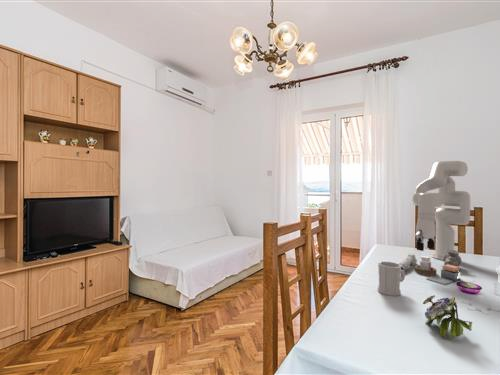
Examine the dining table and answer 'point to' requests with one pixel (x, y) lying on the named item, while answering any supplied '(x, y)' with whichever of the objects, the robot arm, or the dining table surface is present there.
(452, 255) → the pipe fitting
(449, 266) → the orange square block
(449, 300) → the passion flower
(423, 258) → the pill bottle
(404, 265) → the white electric toothbrush
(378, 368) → the dining table surface
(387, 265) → the cup
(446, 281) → the mat
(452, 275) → the block
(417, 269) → the sleeve
